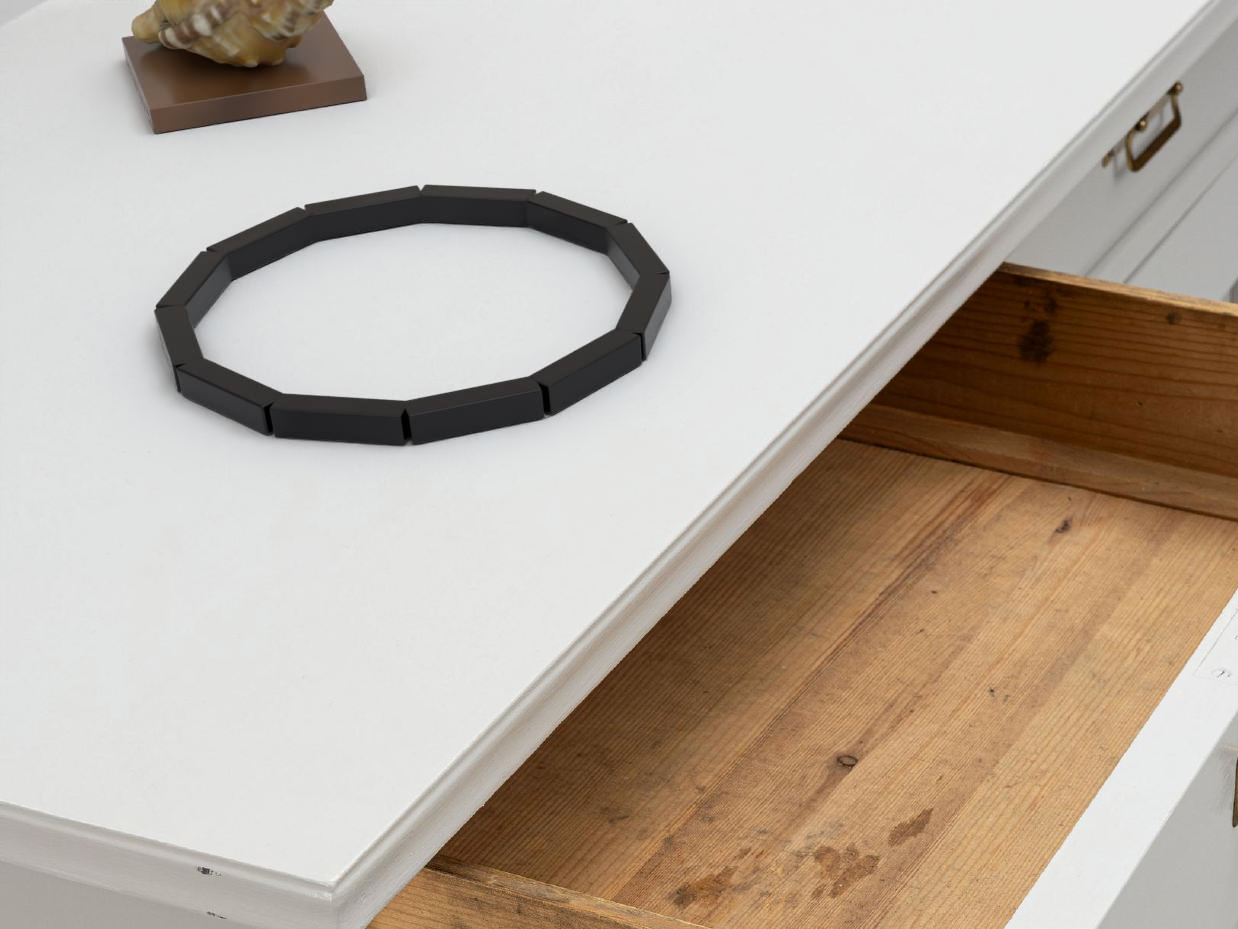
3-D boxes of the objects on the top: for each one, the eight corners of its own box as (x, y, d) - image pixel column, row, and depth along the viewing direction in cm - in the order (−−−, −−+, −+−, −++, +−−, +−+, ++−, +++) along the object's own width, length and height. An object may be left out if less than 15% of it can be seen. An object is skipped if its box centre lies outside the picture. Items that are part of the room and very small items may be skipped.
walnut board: (154, 134, 101) (149, 108, 101) (126, 61, 109) (121, 37, 108) (367, 99, 104) (364, 74, 103) (325, 30, 111) (322, 6, 111)
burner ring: (209, 487, 76) (202, 457, 76) (134, 261, 91) (128, 234, 90) (733, 380, 81) (732, 351, 81) (583, 181, 96) (581, 155, 95)
